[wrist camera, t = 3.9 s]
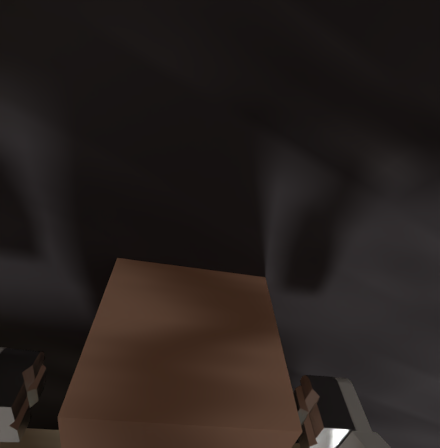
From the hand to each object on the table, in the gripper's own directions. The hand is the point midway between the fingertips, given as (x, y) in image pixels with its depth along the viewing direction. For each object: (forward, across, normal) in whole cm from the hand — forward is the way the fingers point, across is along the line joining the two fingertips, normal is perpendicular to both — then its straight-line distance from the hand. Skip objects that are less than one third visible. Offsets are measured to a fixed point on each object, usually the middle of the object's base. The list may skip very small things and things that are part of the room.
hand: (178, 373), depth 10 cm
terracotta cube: (+2, 0, 0) cm, 2 cm away
